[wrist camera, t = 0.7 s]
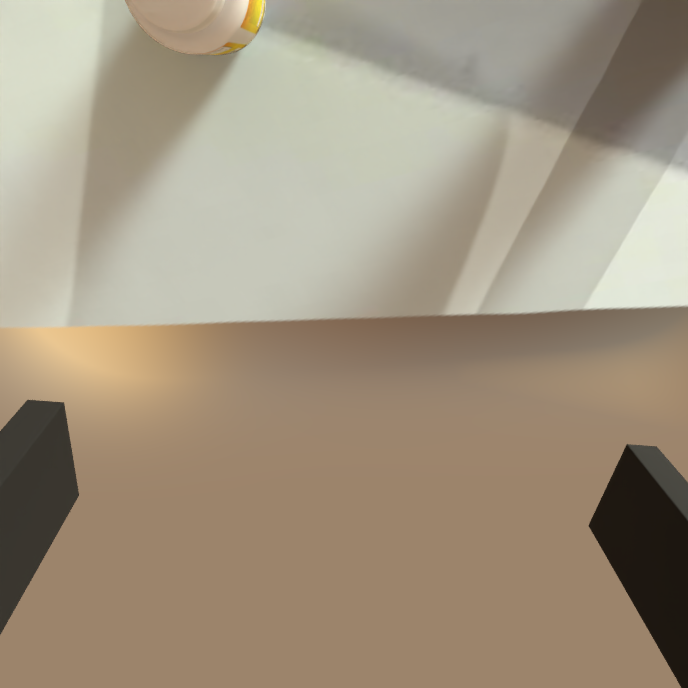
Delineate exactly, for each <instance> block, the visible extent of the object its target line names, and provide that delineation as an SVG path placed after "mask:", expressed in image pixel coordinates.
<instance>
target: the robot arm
mask: <svg viewBox="0 0 688 688" xmlns="http://www.w3.org/2000/svg"><path fill="white" fill-rule="evenodd" d="M78 496H79V493H78V486H77V481H76V474H75V468H74V461H73V455H72V449H71V443H70V437H69V431H68V425H67V418H66V413H65V406H64V403H62V402H49V401H36V400H27V401H26V402H25V404H24V405H23V406H22V407H21V408H20V410H18V412H17V413H16V414H15V415H14V416H13V417H12V418H11V420H10V421H9V422H8V423H7V424H6V426H4V428H3V429H2V430H1V431H0V634H1V632H2V631H3V629H4V627H5V625H6V624H7V622H8V620H9V618H10V617H11V615H12V613H13V611H14V609H15V608H16V606H17V604H18V602H19V601H20V599H21V597H22V595H23V593H24V592H25V590H26V588H27V586H28V585H29V583H30V581H31V579H32V578H33V576H34V574H35V572H36V570H37V569H38V567H39V565H40V563H41V562H42V560H43V558H44V556H45V554H46V553H47V551H48V549H49V547H50V546H51V544H52V542H53V540H54V539H55V537H56V535H57V533H58V531H59V530H60V528H61V526H62V524H63V523H64V521H65V519H66V517H67V516H68V514H69V512H70V510H71V508H72V507H73V505H74V503H75V501H76V500H77V498H78ZM589 527H590V529H591V531H592V532H593V534H594V536H595V538H596V539H597V541H598V543H599V545H600V546H601V548H602V550H603V551H604V553H605V555H606V557H607V559H608V560H609V562H610V564H611V566H612V567H613V569H614V571H615V572H616V574H617V576H618V578H619V579H620V581H621V583H622V584H623V586H624V588H625V590H626V592H627V593H628V595H629V597H630V599H631V600H632V602H633V604H634V606H635V607H636V609H637V611H638V613H639V614H640V616H641V618H642V620H643V621H644V623H645V625H646V627H647V628H648V630H649V632H650V634H651V635H652V637H653V639H654V640H655V642H656V644H657V646H658V648H659V649H660V651H661V653H662V655H663V656H664V658H665V660H666V661H667V663H668V665H669V667H670V668H671V670H672V672H673V674H674V675H675V677H676V678H677V681H678V682H679V684H680V686H681V688H688V482H687V481H686V480H685V479H684V478H683V476H682V475H681V474H680V473H679V472H678V471H677V470H676V468H675V467H674V466H673V465H672V464H671V463H670V461H669V460H668V459H667V458H666V457H665V456H664V454H662V452H661V451H660V450H659V449H658V448H657V447H655V446H642V445H628V444H627V445H626V448H625V449H624V452H623V454H622V456H621V458H620V460H619V462H618V464H617V466H616V468H615V471H614V473H613V475H612V477H611V479H610V481H609V483H608V485H607V488H606V490H605V492H604V494H603V496H602V498H601V500H600V503H599V505H598V507H597V509H596V511H595V513H594V515H593V517H592V519H591V522H590V524H589Z"/></svg>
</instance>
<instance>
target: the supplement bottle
mask: <svg viewBox="0 0 688 688" xmlns="http://www.w3.org/2000/svg"><path fill="white" fill-rule="evenodd" d="M125 2H126V4H127V6H128V8H129V10H130V12H131V14H132V15H133V17H134V18H135V20H136V21H137V23H138V24H139V25H140V26H141V28H142V29H143V30H144V31H145V32H146V33H147V34H148V35H149V36H150V37H152V38H153V39H154V40H156V41H157V42H158V43H160V44H162V45H163V46H165V47H167V48H169V49H172V50H174V51H177V52H181V53H186V54H202V55H224V54H230V53H234V52H236V51H239V50H241V49H242V48H244V47H245V46H247V45H248V44H249V43H250V42H251V41H252V40H253V39H254V37H255V36H256V35H257V33H258V31H259V29H260V27H261V25H262V22H263V18H264V14H265V6H266V0H125Z"/></svg>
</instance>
